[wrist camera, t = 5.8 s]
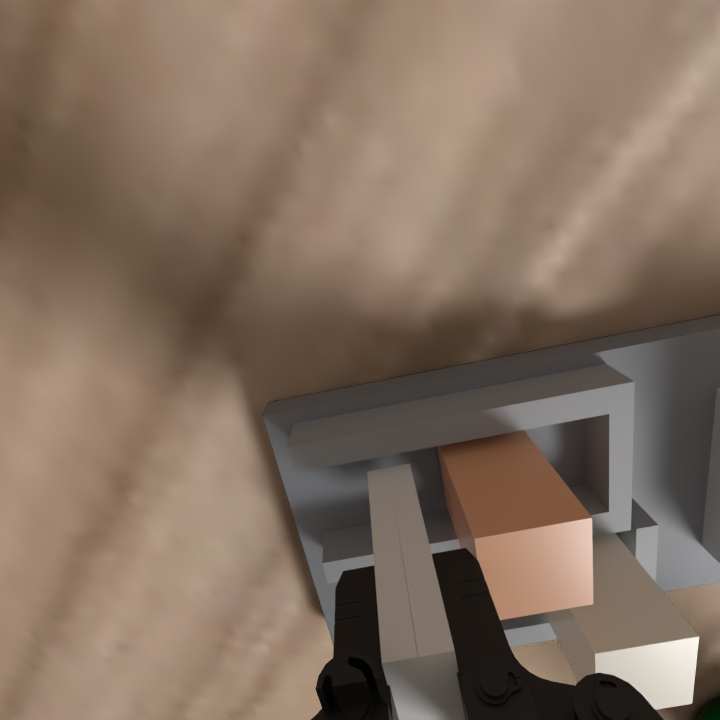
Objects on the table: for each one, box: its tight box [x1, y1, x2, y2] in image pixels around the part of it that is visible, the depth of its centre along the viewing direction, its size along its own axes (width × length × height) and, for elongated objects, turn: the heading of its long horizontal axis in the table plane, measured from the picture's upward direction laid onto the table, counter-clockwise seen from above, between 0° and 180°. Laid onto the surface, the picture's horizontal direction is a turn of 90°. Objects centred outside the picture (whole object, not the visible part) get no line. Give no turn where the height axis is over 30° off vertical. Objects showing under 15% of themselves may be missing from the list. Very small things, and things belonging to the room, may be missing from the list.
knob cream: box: [545, 533, 699, 710], centre depth 15 cm, size 3×3×5 cm
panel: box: [263, 315, 720, 647], centre depth 16 cm, size 26×12×5 cm, turn 101°
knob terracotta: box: [437, 430, 593, 620], centre depth 14 cm, size 3×3×5 cm
